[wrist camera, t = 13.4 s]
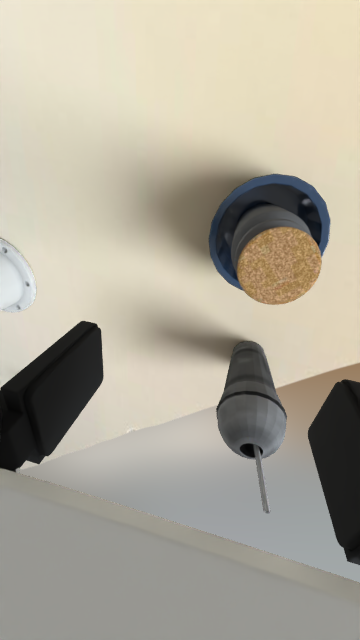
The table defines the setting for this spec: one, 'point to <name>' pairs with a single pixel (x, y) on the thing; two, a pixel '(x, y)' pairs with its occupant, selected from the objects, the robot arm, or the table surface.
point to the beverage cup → (251, 410)
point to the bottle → (274, 255)
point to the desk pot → (266, 191)
